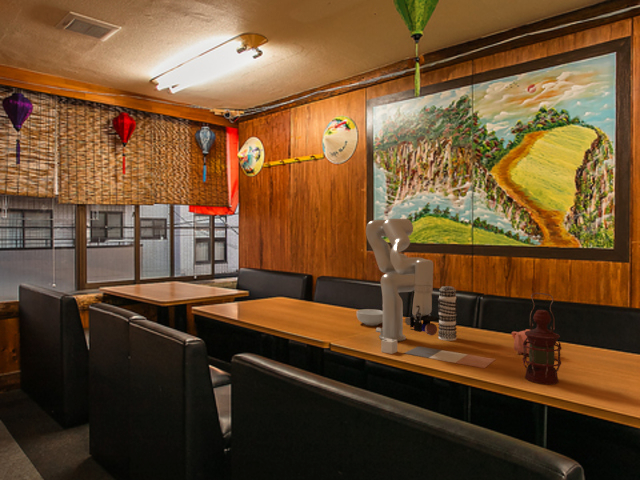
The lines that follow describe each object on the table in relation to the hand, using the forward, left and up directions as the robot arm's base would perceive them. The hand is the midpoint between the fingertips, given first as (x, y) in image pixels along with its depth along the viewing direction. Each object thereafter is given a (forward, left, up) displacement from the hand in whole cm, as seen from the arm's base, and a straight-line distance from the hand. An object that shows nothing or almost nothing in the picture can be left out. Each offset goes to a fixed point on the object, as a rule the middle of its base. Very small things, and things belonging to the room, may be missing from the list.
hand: (422, 329), depth 188 cm
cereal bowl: (-46, +36, -10) cm, 60 cm away
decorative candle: (0, +29, -10) cm, 31 cm away
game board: (+12, -1, -10) cm, 15 cm away
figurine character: (0, 0, -1) cm, 1 cm away
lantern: (+48, -9, -10) cm, 50 cm away
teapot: (+37, +24, -10) cm, 45 cm away
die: (-11, -9, -10) cm, 17 cm away
